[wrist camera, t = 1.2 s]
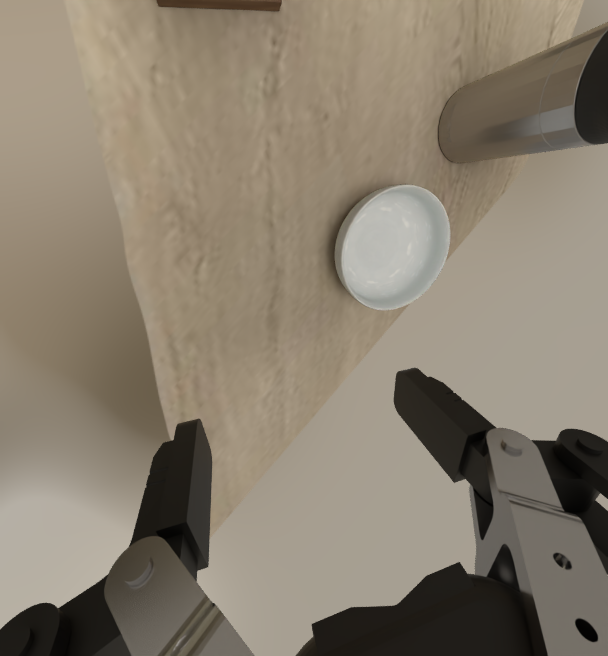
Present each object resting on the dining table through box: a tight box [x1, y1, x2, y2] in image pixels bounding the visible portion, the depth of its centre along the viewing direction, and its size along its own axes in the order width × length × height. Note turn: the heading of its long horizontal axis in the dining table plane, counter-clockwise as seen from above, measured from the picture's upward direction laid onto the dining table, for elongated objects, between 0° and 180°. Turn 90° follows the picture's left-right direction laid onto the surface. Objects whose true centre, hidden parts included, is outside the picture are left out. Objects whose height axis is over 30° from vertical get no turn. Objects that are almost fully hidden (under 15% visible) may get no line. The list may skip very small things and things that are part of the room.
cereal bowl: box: [335, 184, 450, 310], centre depth 40 cm, size 17×17×7 cm
